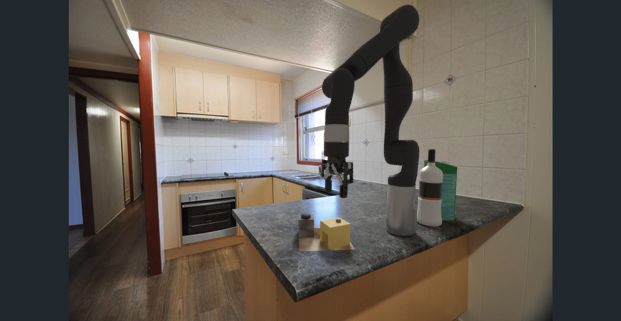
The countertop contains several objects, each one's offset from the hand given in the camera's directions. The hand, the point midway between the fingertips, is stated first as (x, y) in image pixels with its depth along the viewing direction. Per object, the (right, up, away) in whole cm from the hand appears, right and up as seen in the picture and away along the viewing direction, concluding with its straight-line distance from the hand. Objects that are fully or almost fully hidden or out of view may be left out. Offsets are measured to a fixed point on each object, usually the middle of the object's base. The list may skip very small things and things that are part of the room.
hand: (335, 194), depth 63 cm
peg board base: (-3, -16, +4) cm, 17 cm away
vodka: (+40, -15, +21) cm, 48 cm away
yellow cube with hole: (0, -15, +1) cm, 15 cm away
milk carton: (+49, -15, +29) cm, 59 cm away
